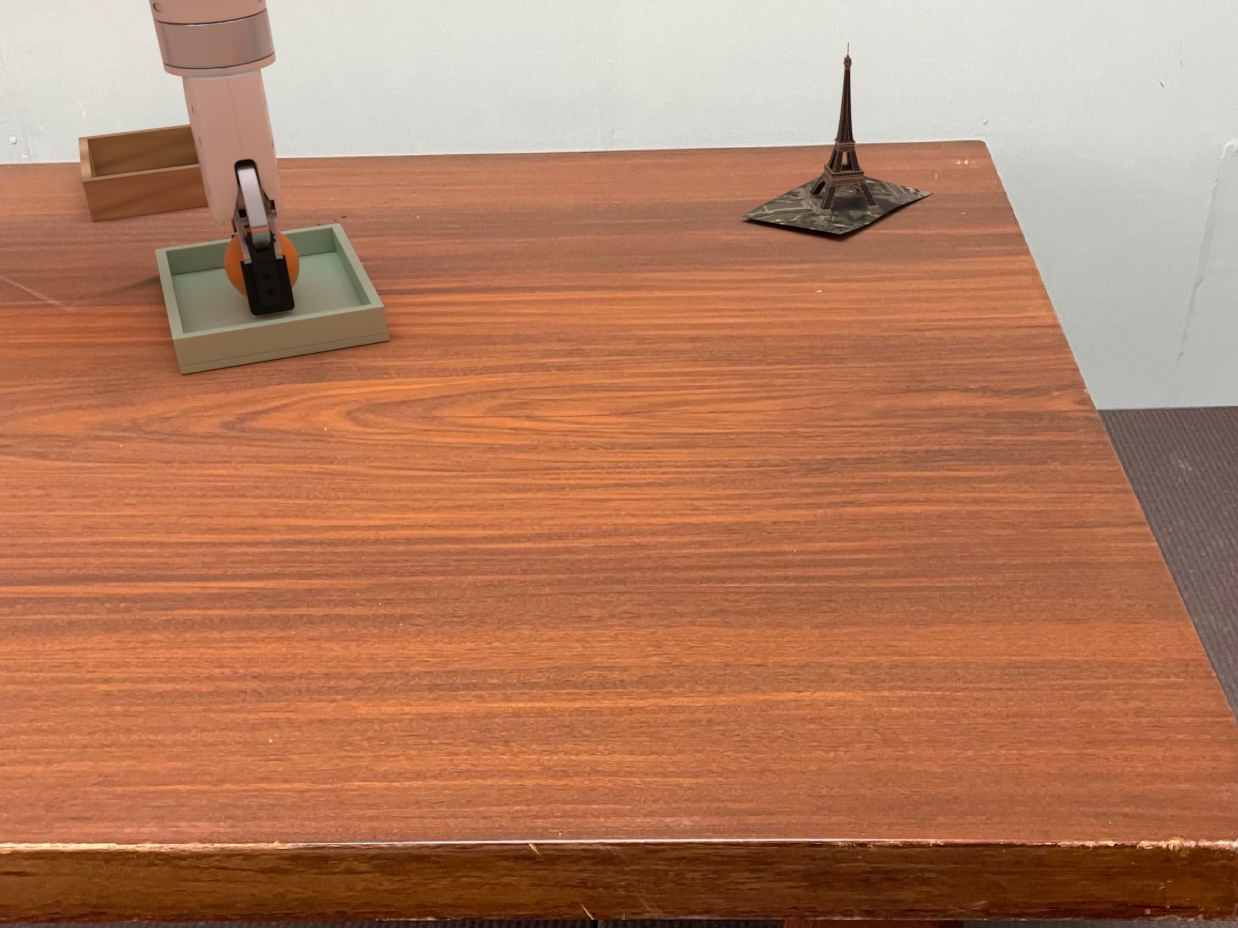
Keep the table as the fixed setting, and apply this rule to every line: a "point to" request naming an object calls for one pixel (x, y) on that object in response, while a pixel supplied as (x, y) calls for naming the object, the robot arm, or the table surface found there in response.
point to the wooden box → (141, 173)
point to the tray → (231, 335)
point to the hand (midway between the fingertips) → (267, 295)
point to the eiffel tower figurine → (838, 187)
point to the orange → (235, 256)
